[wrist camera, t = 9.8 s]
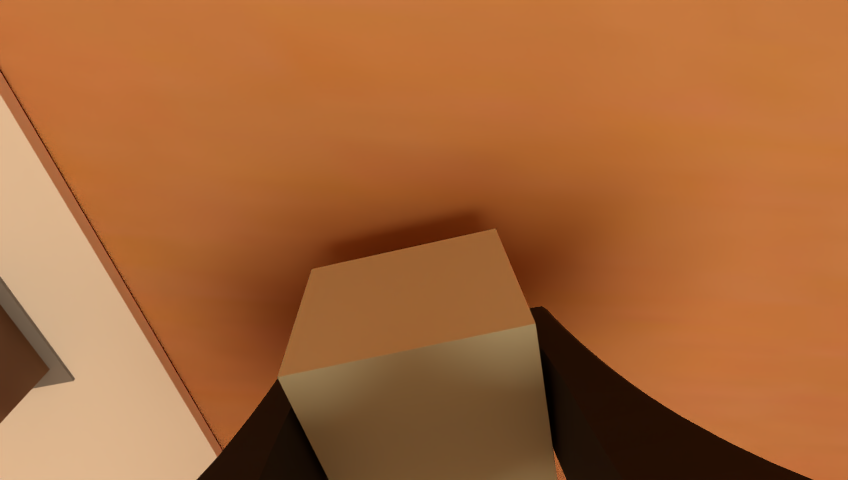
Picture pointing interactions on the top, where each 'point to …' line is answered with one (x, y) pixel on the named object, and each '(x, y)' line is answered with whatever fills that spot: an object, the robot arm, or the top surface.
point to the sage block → (421, 367)
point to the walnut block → (16, 365)
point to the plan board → (82, 340)
